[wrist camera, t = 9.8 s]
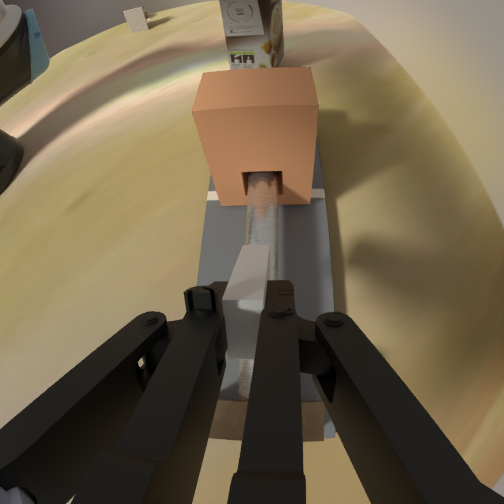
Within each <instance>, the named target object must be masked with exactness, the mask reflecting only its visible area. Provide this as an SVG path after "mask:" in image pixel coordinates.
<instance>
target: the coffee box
mask: <svg viewBox="0 0 504 504" xmlns="http://www.w3.org/2000/svg"><path fill="white" fill-rule="evenodd" d="M219 1H220V7H221V13H222V19H223V25H224V32H225V37H226V43H227V49H228V56H229V62H230V68H231V70H237V69H252V68H275V67H277V66H278V64H279V63H280V61H281V59H282V57H283V55H284V39H283V19H282V1H281V0H219Z"/></svg>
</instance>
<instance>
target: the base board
mask: <svg viewBox="0 0 504 504" xmlns="http://www.w3.org/2000/svg"><path fill="white" fill-rule="evenodd" d="M246 214H247V205H240V206H221V205H220V202H219V199H218V195H217V192H216V189H215V186H214V183H213V179H212V176H211V178H210V185H209V191H208V196H207V206H206V214H205V221H204V229H203V237H202V246H201V254H200V263H199V272H198V281H197V286H204V285H205V286H209V285H210V284H212V283H213V282H214V281H229V280H230V277H231V274H232V272H233V269H234V267H235V264H236V262H237V259H238V256H239V254H240V251H241V249H242V246H243V245H245V233H246ZM278 280H289V281H290V282H291V283H292V284H293V285H294V299H295V310H296V312H297V315H298V316H300V317H301V318H303V319H306V320H310V321H315V322H316V319H317V317H318V316H319V315H321V314H323V313H327V312H334V299H333V282H332V268H331V255H330V243H329V232H328V221H327V212H326V203H325V192H324V186H323V178H322V170H321V162H320V155H319V148H318V141H317V135H316V147H315V159H314V170H313V180H312V190H311V200H310V204H289V205H278ZM225 358H226V369H225V373H224V377H223V381H222V385H221V389H220V393H219V397H218V399H234V400H238V383H239V359H228V353H227V351H226V355H225ZM300 380H301V401H310V400H317V401H322V399H321V397H320V395H319V393H318V391H317V389H316V386H315V384H314V382H313V380H312V374H307V373H302V372H300ZM322 402H323V401H322ZM324 438H335V426H334V424H333V422H332V420H331V418H330V416H329V414H328V412H327V410H326V408H325V410H324Z"/></svg>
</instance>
